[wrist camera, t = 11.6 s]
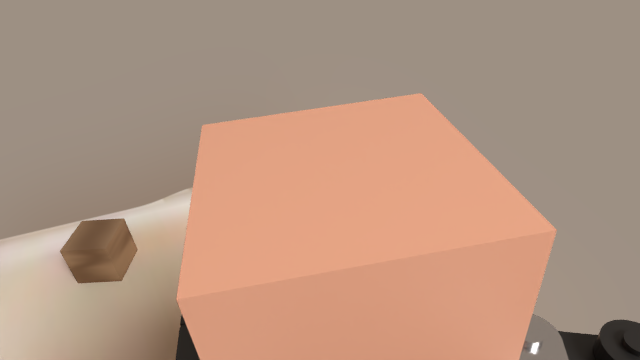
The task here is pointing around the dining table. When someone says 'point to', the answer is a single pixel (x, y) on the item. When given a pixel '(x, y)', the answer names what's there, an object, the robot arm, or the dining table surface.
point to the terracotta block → (357, 240)
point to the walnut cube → (99, 251)
